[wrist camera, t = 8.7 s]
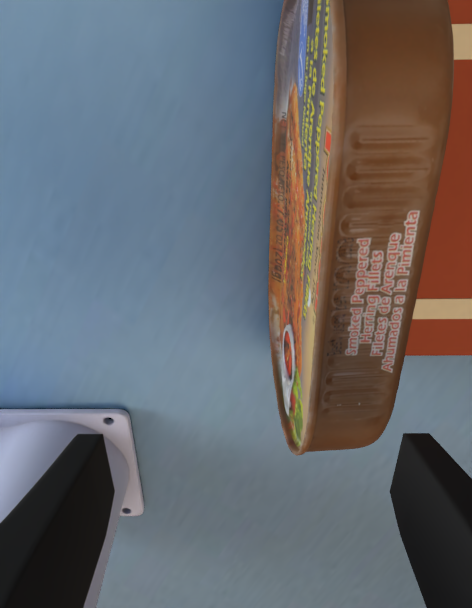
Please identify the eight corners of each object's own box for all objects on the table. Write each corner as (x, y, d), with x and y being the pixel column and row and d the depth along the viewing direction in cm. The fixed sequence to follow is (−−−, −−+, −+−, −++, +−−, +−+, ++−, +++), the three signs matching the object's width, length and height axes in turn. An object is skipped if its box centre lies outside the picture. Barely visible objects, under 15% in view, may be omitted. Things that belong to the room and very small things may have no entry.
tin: (276, -34, 14) (317, -127, 7) (376, -35, 14) (525, -129, 7) (265, 356, 22) (279, 513, 14) (331, 355, 22) (379, 513, 14)
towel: (352, 348, 21) (355, 356, 21) (408, -50, 14) (415, -55, 13) (501, 348, 21) (508, 356, 21) (636, -54, 14) (652, -58, 13)
